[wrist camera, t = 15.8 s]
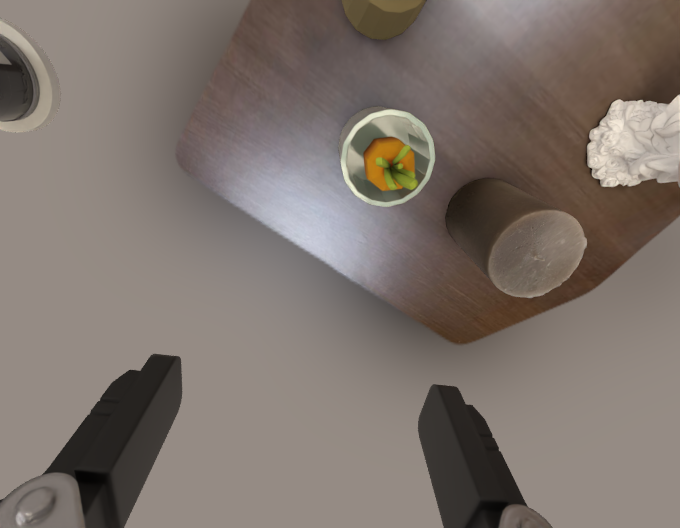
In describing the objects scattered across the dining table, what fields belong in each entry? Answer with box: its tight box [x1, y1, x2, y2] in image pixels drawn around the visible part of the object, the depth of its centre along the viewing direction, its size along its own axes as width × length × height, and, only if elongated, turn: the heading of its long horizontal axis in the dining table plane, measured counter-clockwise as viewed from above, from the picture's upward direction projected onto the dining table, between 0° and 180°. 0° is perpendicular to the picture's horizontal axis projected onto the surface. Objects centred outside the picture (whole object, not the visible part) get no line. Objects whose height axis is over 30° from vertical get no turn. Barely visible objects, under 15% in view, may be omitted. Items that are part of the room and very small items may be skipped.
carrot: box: [363, 136, 418, 191], centre depth 35 cm, size 5×5×15 cm
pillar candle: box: [446, 178, 587, 298], centre depth 40 cm, size 10×10×15 cm
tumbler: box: [338, 106, 435, 207], centre depth 38 cm, size 9×9×10 cm
